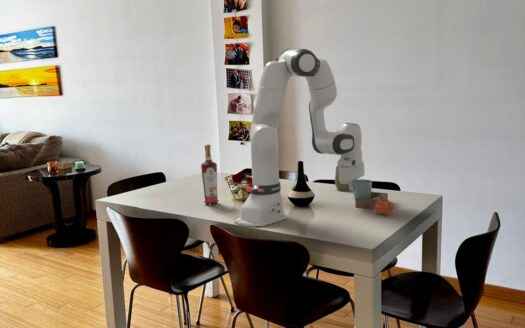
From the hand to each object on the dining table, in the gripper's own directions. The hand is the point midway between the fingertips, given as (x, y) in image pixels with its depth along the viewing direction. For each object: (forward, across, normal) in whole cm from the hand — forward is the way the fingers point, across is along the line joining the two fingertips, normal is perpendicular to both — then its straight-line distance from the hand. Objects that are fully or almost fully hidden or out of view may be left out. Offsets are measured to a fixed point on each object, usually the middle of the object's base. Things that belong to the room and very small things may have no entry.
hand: (352, 189), depth 221 cm
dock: (+6, +1, +10) cm, 11 cm away
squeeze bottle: (+6, -22, -15) cm, 27 cm away
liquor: (+6, +28, -59) cm, 66 cm away
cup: (+6, 0, +4) cm, 7 cm away
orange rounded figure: (+6, +13, +20) cm, 24 cm away
